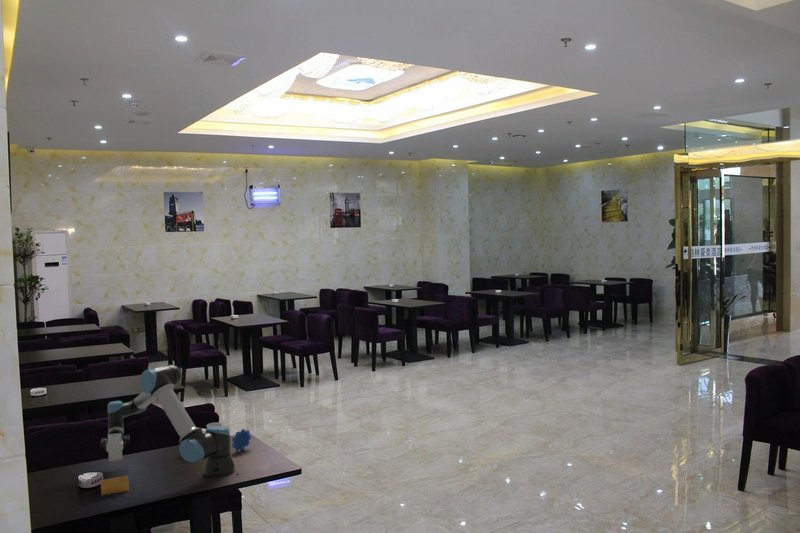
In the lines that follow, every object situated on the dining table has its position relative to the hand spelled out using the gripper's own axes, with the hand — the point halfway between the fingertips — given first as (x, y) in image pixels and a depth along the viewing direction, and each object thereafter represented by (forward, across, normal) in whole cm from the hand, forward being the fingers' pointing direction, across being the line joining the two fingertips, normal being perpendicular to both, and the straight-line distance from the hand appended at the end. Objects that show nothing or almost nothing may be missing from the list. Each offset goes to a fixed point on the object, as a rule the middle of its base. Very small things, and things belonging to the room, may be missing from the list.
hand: (114, 447), depth 312 cm
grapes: (-24, -64, -18) cm, 71 cm away
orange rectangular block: (+7, 0, -18) cm, 20 cm away
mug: (-47, -52, -18) cm, 73 cm away
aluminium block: (-5, 0, -7) cm, 9 cm away
